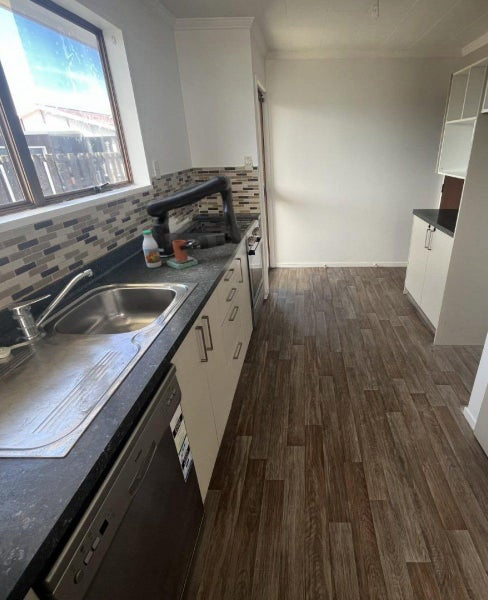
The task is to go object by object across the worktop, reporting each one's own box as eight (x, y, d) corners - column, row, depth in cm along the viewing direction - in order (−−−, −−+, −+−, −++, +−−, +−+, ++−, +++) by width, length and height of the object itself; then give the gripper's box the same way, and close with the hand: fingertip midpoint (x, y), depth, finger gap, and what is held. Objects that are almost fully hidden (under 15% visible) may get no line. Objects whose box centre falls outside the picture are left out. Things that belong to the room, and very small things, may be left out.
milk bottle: (144, 267, 184) (135, 232, 176) (154, 263, 191) (147, 228, 182) (154, 268, 181) (146, 233, 173) (164, 264, 188) (157, 229, 179)
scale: (167, 265, 187) (166, 260, 185) (185, 259, 195) (185, 255, 194) (179, 269, 180) (178, 264, 179) (197, 263, 188) (197, 259, 187)
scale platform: (169, 260, 186) (168, 259, 185) (184, 256, 193) (184, 255, 192) (178, 263, 180) (178, 262, 180) (194, 259, 187) (194, 258, 187)
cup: (173, 259, 186) (169, 241, 181) (183, 256, 190) (180, 239, 186) (179, 261, 182) (176, 243, 178) (190, 258, 186) (187, 241, 182)
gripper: (202, 233, 194) (174, 237, 186) (209, 238, 183) (180, 242, 175) (204, 245, 197) (176, 249, 190) (211, 251, 186) (182, 256, 179)
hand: (178, 246), depth 183 cm, fingers open, 8 cm apart
